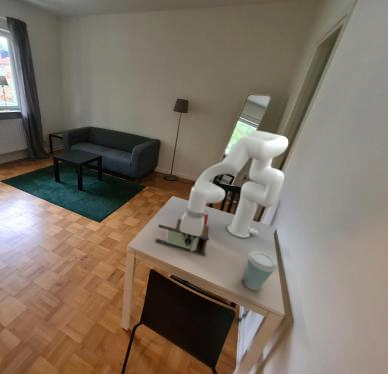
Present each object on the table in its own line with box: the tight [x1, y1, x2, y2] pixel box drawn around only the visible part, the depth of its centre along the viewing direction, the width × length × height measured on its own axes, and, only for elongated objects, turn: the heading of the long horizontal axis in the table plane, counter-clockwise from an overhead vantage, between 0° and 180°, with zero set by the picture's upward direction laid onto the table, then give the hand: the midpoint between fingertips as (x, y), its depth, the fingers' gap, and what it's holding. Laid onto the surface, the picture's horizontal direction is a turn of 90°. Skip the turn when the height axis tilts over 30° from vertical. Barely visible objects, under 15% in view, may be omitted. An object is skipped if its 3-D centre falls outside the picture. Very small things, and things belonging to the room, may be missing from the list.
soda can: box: [204, 209, 209, 226], centre depth 124 cm, size 7×7×12 cm
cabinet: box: [155, 218, 210, 256], centre depth 112 cm, size 25×12×10 cm, turn 71°
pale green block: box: [166, 230, 199, 251], centre depth 106 cm, size 15×4×8 cm, turn 71°
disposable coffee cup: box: [243, 250, 278, 291], centre depth 89 cm, size 11×11×15 cm
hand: (187, 244), depth 104 cm, fingers closed
